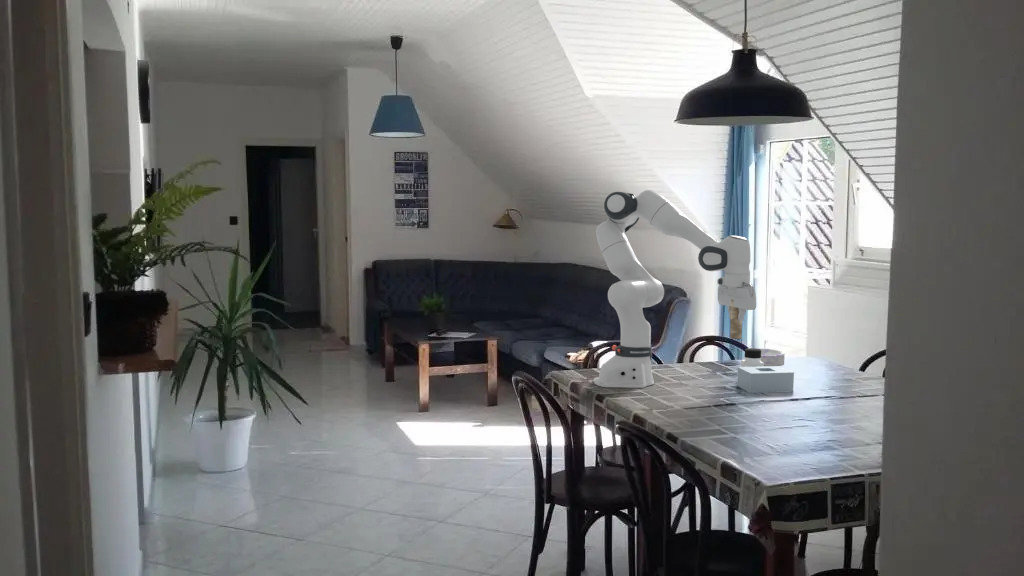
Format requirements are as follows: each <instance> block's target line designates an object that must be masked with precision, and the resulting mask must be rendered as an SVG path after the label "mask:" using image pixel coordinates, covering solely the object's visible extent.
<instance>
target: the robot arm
mask: <svg viewBox="0 0 1024 576" xmlns="http://www.w3.org/2000/svg"><path fill="white" fill-rule="evenodd" d="M603 208H604V212H605V215H607V218H606V220H605V221H602V222H601V223H600V224H598V225H597V227H596V230H595V236H596V241H597V245H598V247H599V250H600V252H601V255H602V257H603V259H604V261H605V263H606V266H607V269H608V270H609V272H610V274H612V275H614V276H616V277H617V278H618V279H619V280H620V281H619V280H618V281H617V282H615V283H612V284H611V286H609V289H608V291H607V301H608V303H609V304H610V305H611V307H613V309H614V310H615V311H616V313H617V316H618V320H619V325H620V344H619V345H618V346H617V345H616V344H613V345H612V346H611V349H612V351H614V353H615V355H614V356H612V357H611V358H610V359H608V360H607V361H605V362H604V363H602V365H601V367H600V370H599V375H598V377H597V376H596V377H594V378H593V384H595V385H596V386H597V387H598V386H599V387H602V388H631V389H632V388H635V389H636V388H637V389H638V388H639V389H643V388H646V387H648V386H652V385H654V384H655V381H654V376H653V371H652V363H651V362H652V357H653V348H652V344H651V343H652V342H651V339H652V337H651V335H652V334H651V333H652V327H651V324H650V322H649V321H648V320H646V317H645V315H644V310H643V308H650V307H653V306H655V305H657V304H659V303H661V302H662V300H663V299H664V297H665V288H664V286H663V284H662V282H661V281H659V280H658V279H656V278H655V277H654V276H652V275H651V274H650V273H649V272H648V271H647V269H645V267H644V266H643V265H642V263H641V262H640V261H639V259H638V257H637V255H636V253H635V252H634V249H633V248H632V245H631V243H630V241H629V239H628V237H627V234H626V233H627V232H628V231H629V230H630V229H631V228H632V227H634V226H635V225H636V224H637V223H638V221H639V220H640V219H643V220H644V221H646V222H647V223H649V225H650V226H652V227H653V228H654V229H655V230H657V231H658V232H660V233H662V234H664V235H665V236H669V237H676V238H677V237H678V238H681V239H684V240H686V241H687V242H690V243H691V244H692V245H694V246H695V247H697V249H699V250H700V251H699V253H698V258H697V259H698V263H699V265H700V267H701V268H702V269H703V270H705V271H708V272H719V271H724V275H723V276H721V277H719V278H717V280H716V282H717V285H718V287H717V302H718V304H719V305H721V306H722V305H723V306H726V307H727V308H726V309H727V311H728V318H729V319H730V320H731V299H732V300H734V304H733V305H734V307H735V308H739V311H740V312H739V316H737V320H738V321H742V322H744V321H745V315H746V312H747V311H752V310H753V311H754V310H756V308H757V293H756V290H755V287H754V286H753V284H752V283H751V270H750V264H751V244H750V241H749V240H748V239H747V237H743V236H739V235H728V236H726V237H725V238H724V239H722V240H720V241H719V240H718V239H715V238H714V237H713V236H712V235H710V234H709V233H708V232H706V231H705V229H702V228H701V227H700V226H698V225H697V224H696V223H694V221H693V220H691V219H690V218H689V217H688V216H687V215H686V214H684V213H683V212H682V211H681V210H680V209H679V208H678V207H677V206H675V204H674V203H672V202H671V200H669V199H667V198H666V197H665V196H663V195H661V194H659V192H656V191H654V190H652V189H646V190H643V191H642V192H640V193H639V194H638V195H637V196H636V195H635V194H634V193H629V192H624V191H614V192H611V193H609V194H607V197H606V198H605V200H604V203H603Z"/></svg>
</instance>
